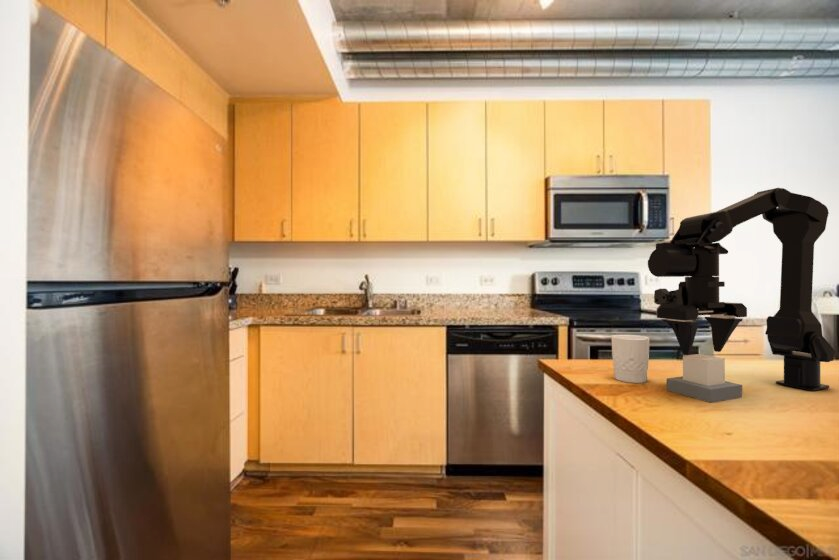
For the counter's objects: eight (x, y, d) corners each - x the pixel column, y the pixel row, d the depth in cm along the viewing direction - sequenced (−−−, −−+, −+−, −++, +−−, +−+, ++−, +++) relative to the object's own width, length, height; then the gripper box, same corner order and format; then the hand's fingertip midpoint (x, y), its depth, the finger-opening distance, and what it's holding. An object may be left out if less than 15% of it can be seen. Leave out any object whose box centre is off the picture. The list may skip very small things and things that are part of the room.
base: (696, 385, 86) (696, 374, 86) (742, 397, 78) (742, 384, 78) (666, 390, 83) (666, 378, 83) (710, 402, 75) (710, 389, 75)
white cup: (655, 384, 88) (655, 339, 88) (617, 383, 89) (616, 339, 89) (642, 376, 95) (642, 334, 95) (607, 374, 97) (607, 334, 97)
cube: (699, 377, 84) (699, 354, 84) (724, 383, 79) (724, 358, 79) (683, 379, 82) (682, 355, 82) (707, 385, 77) (707, 360, 77)
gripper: (694, 276, 91) (694, 344, 91) (633, 277, 85) (633, 349, 85) (748, 276, 81) (748, 352, 81) (683, 276, 74) (684, 359, 74)
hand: (702, 353), depth 80 cm, fingers open, 9 cm apart
